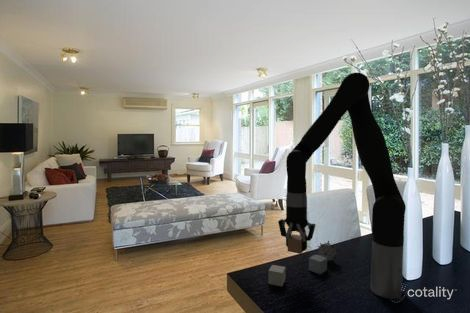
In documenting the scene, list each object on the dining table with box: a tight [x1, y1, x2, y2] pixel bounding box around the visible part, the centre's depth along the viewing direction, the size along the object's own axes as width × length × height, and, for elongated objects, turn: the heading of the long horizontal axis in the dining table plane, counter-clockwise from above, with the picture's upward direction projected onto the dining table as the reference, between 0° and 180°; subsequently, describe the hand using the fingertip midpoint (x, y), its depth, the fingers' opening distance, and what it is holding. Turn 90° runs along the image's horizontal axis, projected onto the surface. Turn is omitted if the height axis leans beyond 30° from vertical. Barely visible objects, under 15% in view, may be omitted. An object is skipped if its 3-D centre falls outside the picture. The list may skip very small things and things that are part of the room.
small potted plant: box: [315, 240, 339, 263], centre depth 123 cm, size 9×8×10 cm
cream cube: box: [267, 264, 287, 287], centre depth 105 cm, size 5×5×5 cm
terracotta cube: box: [287, 233, 304, 255], centre depth 109 cm, size 5×5×5 cm
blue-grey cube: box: [308, 253, 328, 275], centre depth 115 cm, size 5×5×5 cm
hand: (296, 248), depth 109 cm, fingers closed on terracotta cube, 5 cm apart
